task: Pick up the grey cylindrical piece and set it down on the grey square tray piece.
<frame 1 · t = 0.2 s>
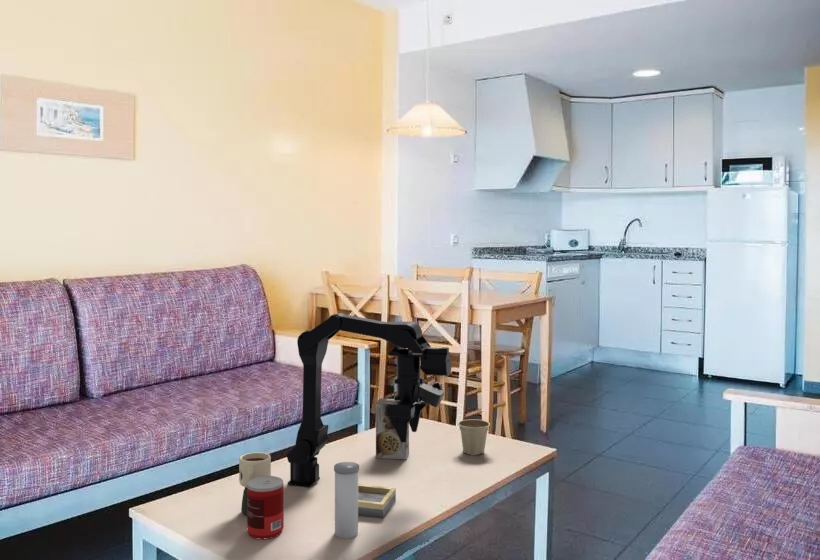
hand: (409, 436, 173), 15 cm above the table, tool pointing down, fingers open, 9 cm apart
canned food: (265, 532, 151), on the table
flower pot: (473, 452, 208), on the table
coffee box: (392, 456, 203), on the table
grey square tray piece: (368, 507, 165), on the table
grey cylindrical piece: (346, 533, 151), on the table
character mug: (255, 512, 162), on the table
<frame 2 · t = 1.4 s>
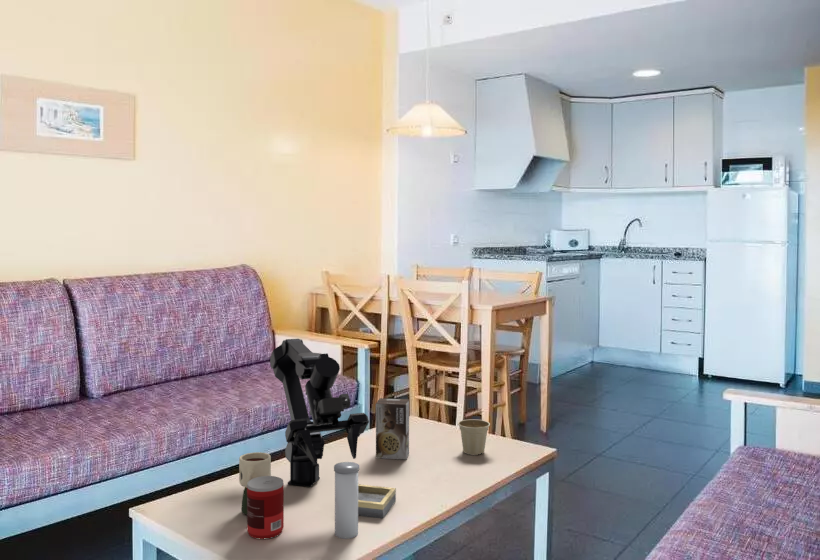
hand: (335, 460, 157), 13 cm above the table, tool tilted 45°, fingers open, 9 cm apart
nothing on the table moved.
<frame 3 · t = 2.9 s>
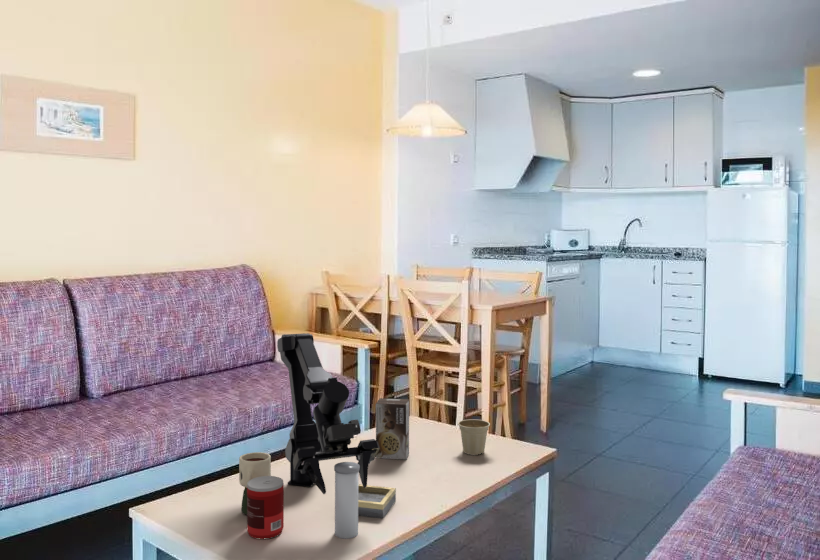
hand: (345, 490, 151), 9 cm above the table, tool tilted 45°, fingers open, 9 cm apart
nothing on the table moved.
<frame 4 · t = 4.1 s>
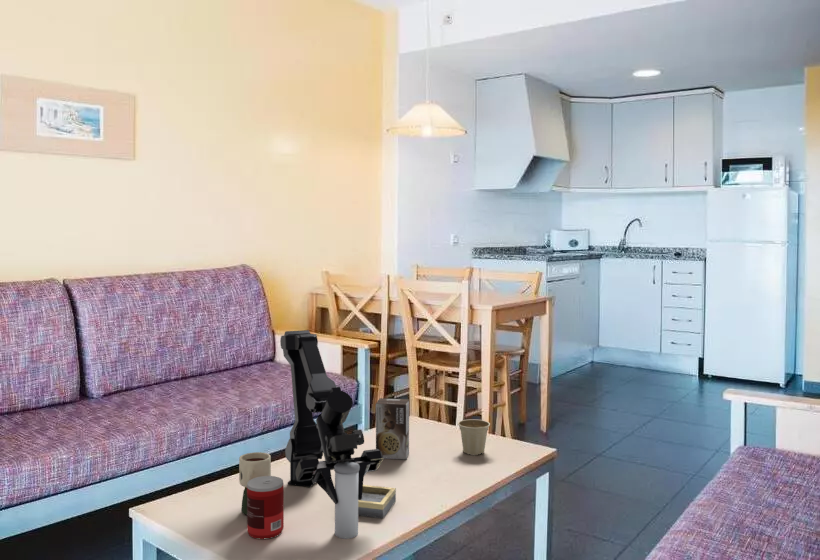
hand: (348, 501, 149), 8 cm above the table, tool tilted 45°, fingers closed on grey cylindrical piece, 5 cm apart
grey cylindrical piece: (346, 533, 151), on the table, touching gripper
everything else where it was.
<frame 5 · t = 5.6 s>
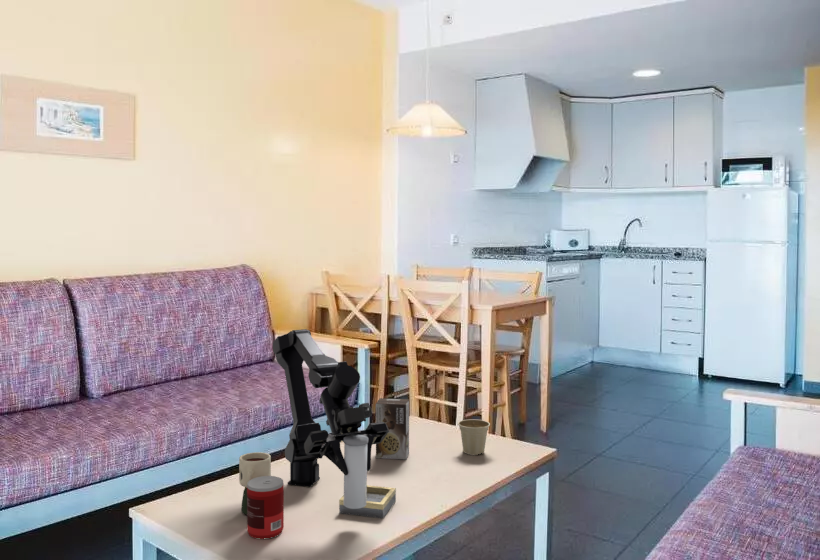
hand: (358, 472, 153), 12 cm above the table, tool tilted 45°, fingers closed on grey cylindrical piece, 5 cm apart
grey cylindrical piece: (355, 504, 155), point 5 cm above the table, touching gripper
everything else where it was.
when the fingers open (11 cm above the table, at t = 7.3 s): grey cylindrical piece drops 1 cm, resting on grey square tray piece.
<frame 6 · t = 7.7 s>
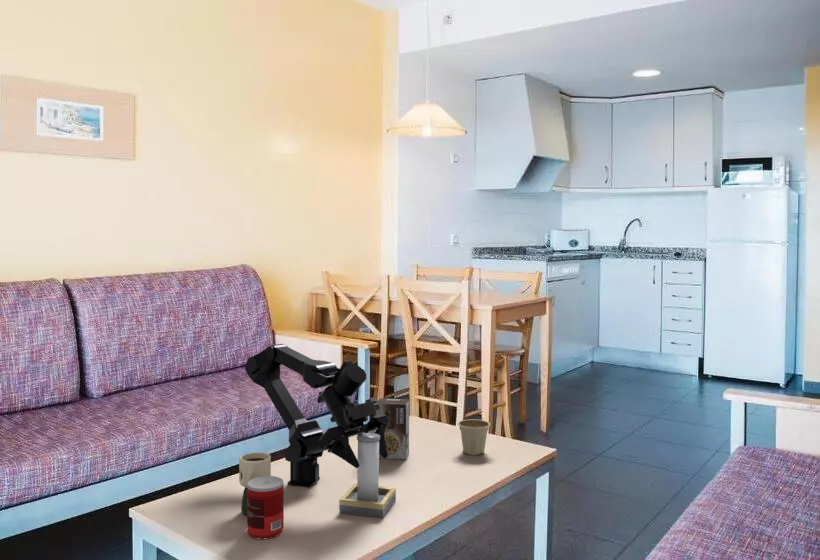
hand: (372, 462, 164), 11 cm above the table, tool tilted 45°, fingers open, 9 cm apart
grey cylindrical piece: (367, 498, 165), point 2 cm above the table, touching grey square tray piece
everything else where it was.
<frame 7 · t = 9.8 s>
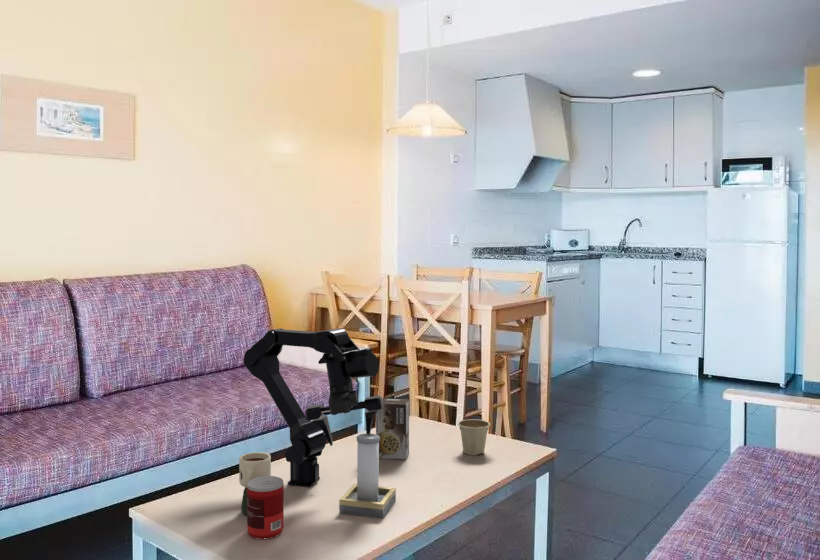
hand: (350, 442, 173), 13 cm above the table, tool pointing down, fingers open, 9 cm apart
nothing on the table moved.
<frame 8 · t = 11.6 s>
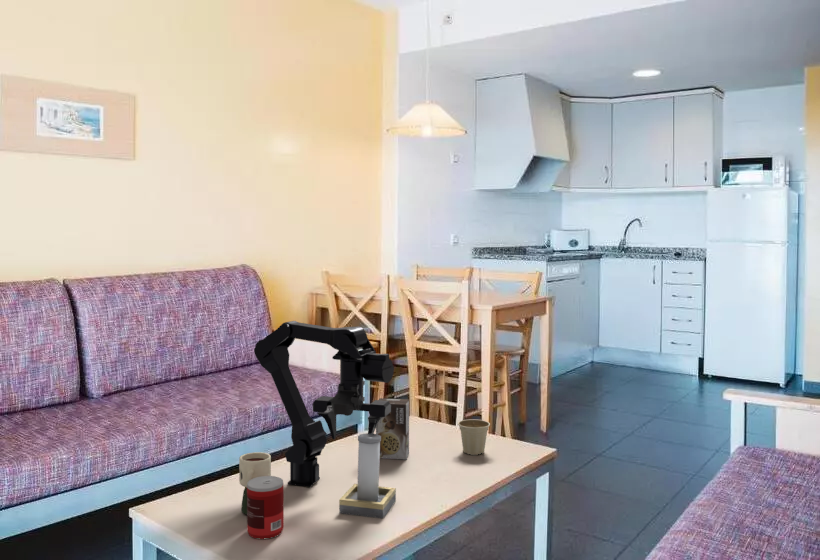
hand: (351, 440, 174), 13 cm above the table, tool pointing down, fingers open, 9 cm apart
nothing on the table moved.
at the end: grey cylindrical piece 0.1 cm off-centre on the grey square tray piece, point 2.1 cm above the grey square tray piece's base; grey cylindrical piece tilted 1°; the gripper is holding nothing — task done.
